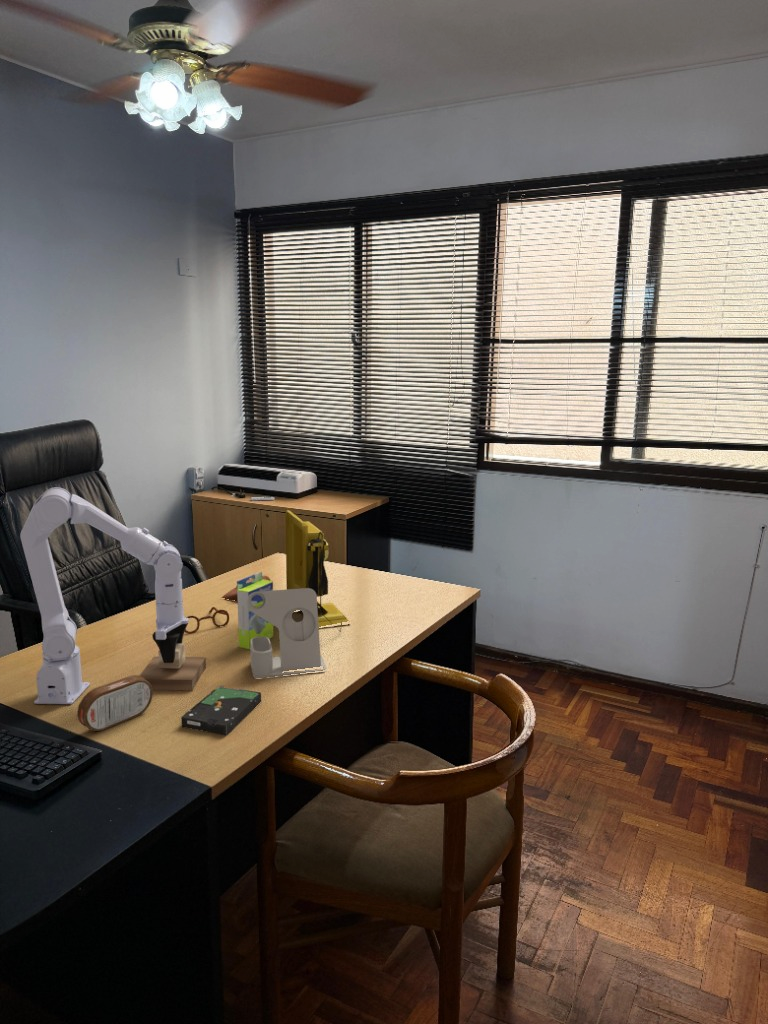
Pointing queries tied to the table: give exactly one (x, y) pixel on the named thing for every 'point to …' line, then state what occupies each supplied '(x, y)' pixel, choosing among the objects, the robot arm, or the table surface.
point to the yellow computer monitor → (309, 565)
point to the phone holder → (287, 633)
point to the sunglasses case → (233, 593)
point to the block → (178, 658)
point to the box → (247, 620)
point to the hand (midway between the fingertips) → (171, 657)
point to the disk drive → (221, 710)
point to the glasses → (209, 617)
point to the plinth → (174, 674)
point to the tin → (114, 703)
